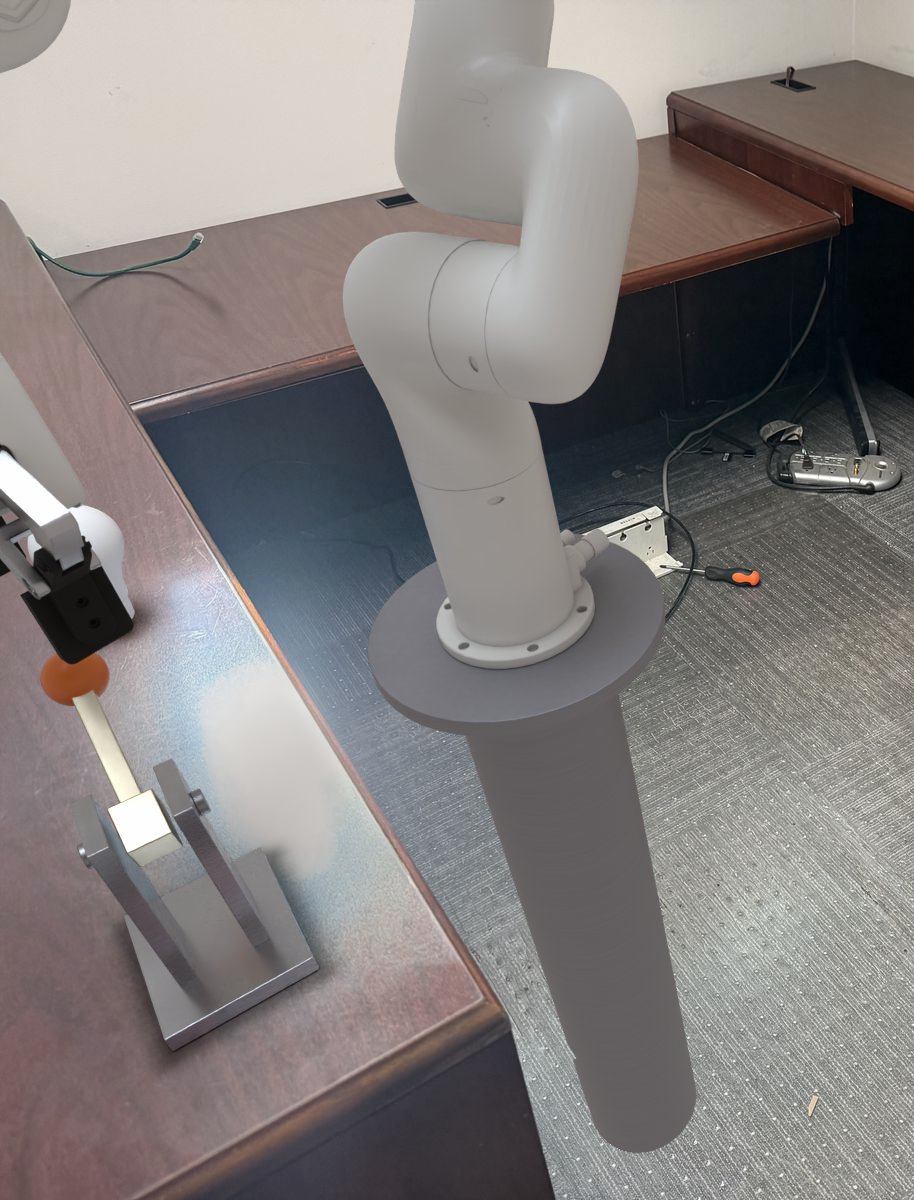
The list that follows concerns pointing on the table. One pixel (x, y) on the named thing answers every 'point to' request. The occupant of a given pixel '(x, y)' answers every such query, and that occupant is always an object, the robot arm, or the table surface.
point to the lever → (112, 758)
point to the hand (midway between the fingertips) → (45, 609)
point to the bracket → (199, 919)
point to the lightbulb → (100, 546)
